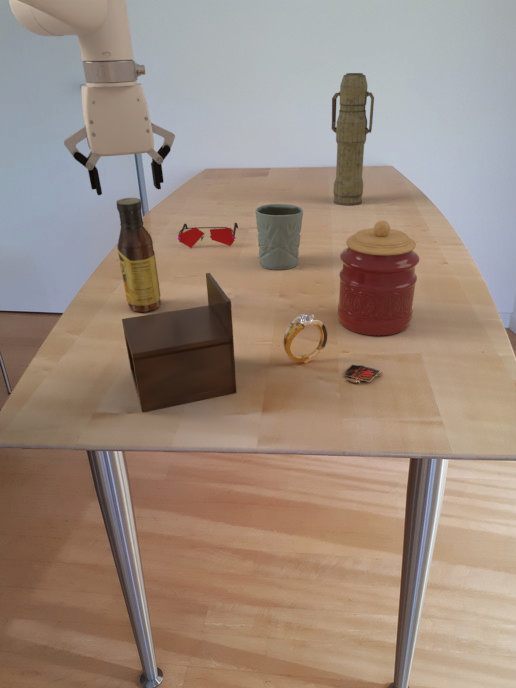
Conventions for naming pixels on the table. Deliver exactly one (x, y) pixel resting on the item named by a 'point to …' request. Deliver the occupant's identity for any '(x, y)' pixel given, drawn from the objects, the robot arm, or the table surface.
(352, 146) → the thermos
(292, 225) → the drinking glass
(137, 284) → the sauce bottle
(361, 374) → the matchbox
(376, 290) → the kitchen canister
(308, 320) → the ring
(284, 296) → the table surface
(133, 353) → the shelf
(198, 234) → the glasses
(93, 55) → the robot arm
